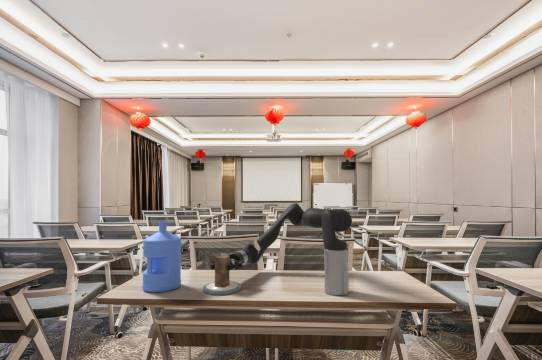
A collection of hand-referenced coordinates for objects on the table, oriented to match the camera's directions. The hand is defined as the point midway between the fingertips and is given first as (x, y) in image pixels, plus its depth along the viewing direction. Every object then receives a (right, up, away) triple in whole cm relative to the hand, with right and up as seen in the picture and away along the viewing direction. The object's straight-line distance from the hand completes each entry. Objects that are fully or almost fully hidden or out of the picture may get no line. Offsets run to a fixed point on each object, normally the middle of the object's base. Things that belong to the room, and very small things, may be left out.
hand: (219, 267), depth 124 cm
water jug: (-26, -10, +5) cm, 28 cm away
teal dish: (+1, -10, +1) cm, 10 cm away
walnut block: (+1, -8, +2) cm, 8 cm away
